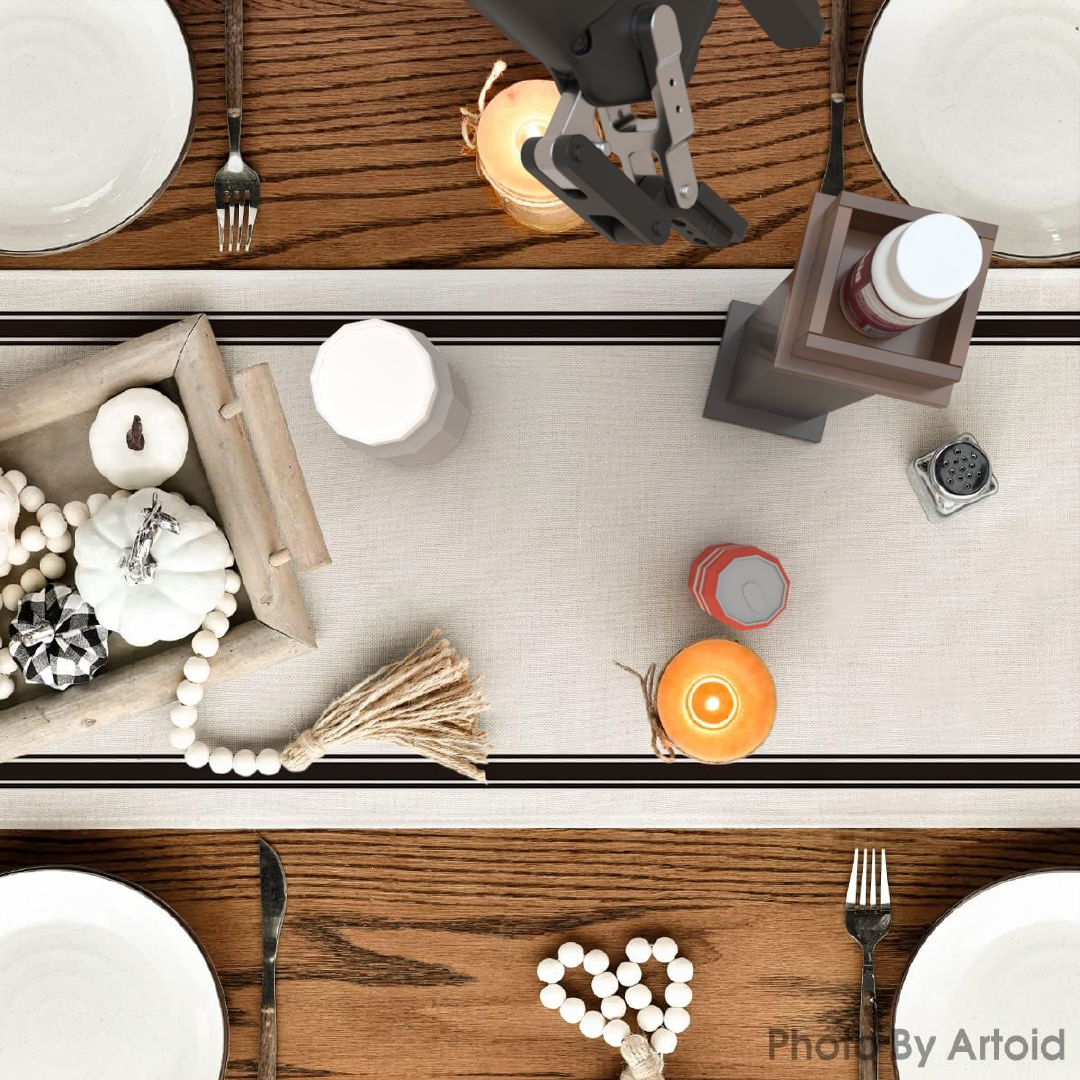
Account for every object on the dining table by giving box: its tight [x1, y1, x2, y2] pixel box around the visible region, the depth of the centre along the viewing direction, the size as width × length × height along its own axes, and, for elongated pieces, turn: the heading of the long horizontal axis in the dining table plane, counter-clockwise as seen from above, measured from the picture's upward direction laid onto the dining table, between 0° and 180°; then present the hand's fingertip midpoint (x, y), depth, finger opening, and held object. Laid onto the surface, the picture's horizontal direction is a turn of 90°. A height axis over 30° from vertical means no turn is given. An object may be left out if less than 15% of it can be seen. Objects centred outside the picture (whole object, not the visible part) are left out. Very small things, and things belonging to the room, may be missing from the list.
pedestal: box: [701, 270, 877, 445], centre depth 66 cm, size 10×10×26 cm
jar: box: [309, 317, 472, 468], centre depth 71 cm, size 10×10×18 cm
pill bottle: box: [839, 212, 982, 338], centre depth 48 cm, size 5×5×8 cm
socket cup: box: [770, 189, 1000, 410], centre depth 51 cm, size 10×10×4 cm
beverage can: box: [687, 542, 791, 632], centre depth 73 cm, size 6×6×12 cm
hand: (767, 136), depth 38 cm, fingers open, 8 cm apart
